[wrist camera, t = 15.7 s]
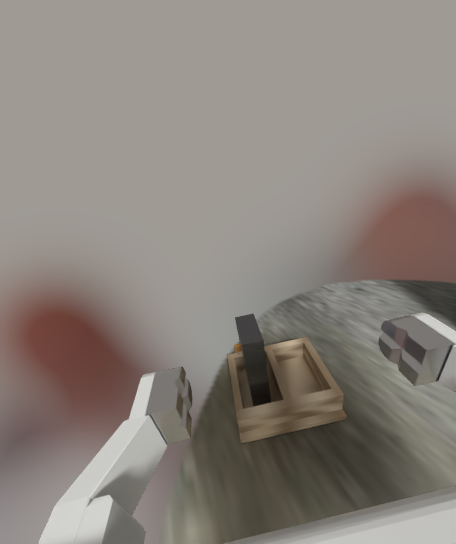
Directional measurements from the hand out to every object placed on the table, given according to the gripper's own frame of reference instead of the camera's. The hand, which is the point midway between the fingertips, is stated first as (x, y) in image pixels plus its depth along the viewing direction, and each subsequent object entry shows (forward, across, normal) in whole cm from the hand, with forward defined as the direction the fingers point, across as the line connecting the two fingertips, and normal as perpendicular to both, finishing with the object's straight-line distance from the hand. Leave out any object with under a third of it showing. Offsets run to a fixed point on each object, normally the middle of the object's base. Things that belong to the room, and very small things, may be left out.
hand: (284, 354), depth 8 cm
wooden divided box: (+14, -3, +24) cm, 28 cm away
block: (+14, 0, +23) cm, 27 cm away
